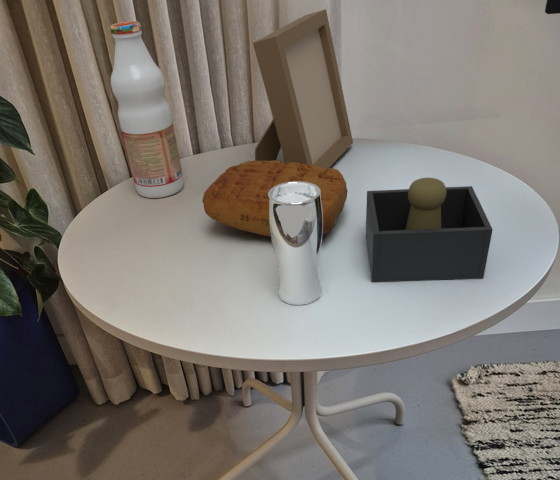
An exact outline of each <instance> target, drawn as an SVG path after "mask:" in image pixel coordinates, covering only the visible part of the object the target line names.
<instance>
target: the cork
mask: <svg viewBox="0 0 560 480" xmlns="http://www.w3.org/2000/svg"><path fill="white" fill-rule="evenodd" d="M446 187H447V186H446V185H445V182H443V181H442V180H440V179H438V178H435V177H421V178H417V179H416V180H413V181H412V182H411V184H410V185H409V188H408V189H409V190H408V199H409V202H410V204H411V207H410V212H409V216H408V221H407V225H406V229H405V230H421V229H441V205H442V204H443V203H444V200H445V198H446V193H447V191H446Z"/></svg>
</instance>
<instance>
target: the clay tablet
mask: <svg viewBox="0 0 560 480" xmlns="http://www.w3.org/2000/svg"><path fill="white" fill-rule="evenodd" d="M292 181H303V182H309V183H313V184H315V185H317V186H318V187H319V188H320V190H321V202H322V212H323V235H324V234H327V233H329V232H331V230H332V229H333V228H334V227H335V225H336V222H337V220H338V218H339V216H340V215H341V213H342V212H343V210H344V207H345V204H346V201H347V197H348V187H347V182H346V180H345V178H344V175H343V174H342V173H341V171H340V170H339V169H336V168H332V167H329V168H324V167H318V166H315V165H312V164H308V165H306V164H300V163H296V162H286V163H285V162H280V160H272V161H255V160H247V161H243V162H242V163H241V162H240V163H239V164H236V165H233V166H230V167H228V168H226V170H225V171H224V172H222V173H221V174H220V175H219V176H218V177H217V178H216V179H215V180H214V181H213V182H212V183H211V184H210V185H209V187H208V188H207V189H206V190H205V191H204V193H203V197H202V203H203V209H204V213H205V214H206V215H207V216H208V217H209V218H210V219H211V220H214V221H216V222H219V223H220V224H223V225H225V226H227V227H231V228H234V229H236V230H240V231H244V232H248V233H252V234H256V235H260V236H265V237H270V238H271V235H270V228H269V209H268V207H269V198H268V193H269V191H270V190H271V189H272V188H273V187H275V186H276V185H279V184H282V183H286V182H292Z"/></svg>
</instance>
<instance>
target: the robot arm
mask: <svg viewBox="0 0 560 480" xmlns="http://www.w3.org/2000/svg"><path fill="white" fill-rule="evenodd" d="M544 13H545V14H547V15H557V14H560V0H546V3H545V7H544Z"/></svg>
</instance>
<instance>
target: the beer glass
mask: <svg viewBox="0 0 560 480" xmlns="http://www.w3.org/2000/svg"><path fill="white" fill-rule="evenodd" d="M268 198H269V207H268V209H269V228H270V235H271V237H270V239H271V245H272V248H273V251H274V255H275V259H276V262H277V266H278V271H279V284H278V297H279V299H280V300H281V301H282V302H284V303H286V304H288V305H293V306H304V305H305V306H306V305H309V304H311V303H314V302H315V301H317V300H318V299H320V297H321V295H322V286H321V281H320V278H319V261H320V256H321V249H322V243H323V235H324V234H323V212H322V202H321V190H320V188H319V187H318V186H317V185H315V184H313V183H309V182H303V181H292V182H286V183H282V184H279V185H276V186H275V187H273V188H272V189H271V190H270V191H269V193H268Z"/></svg>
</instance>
